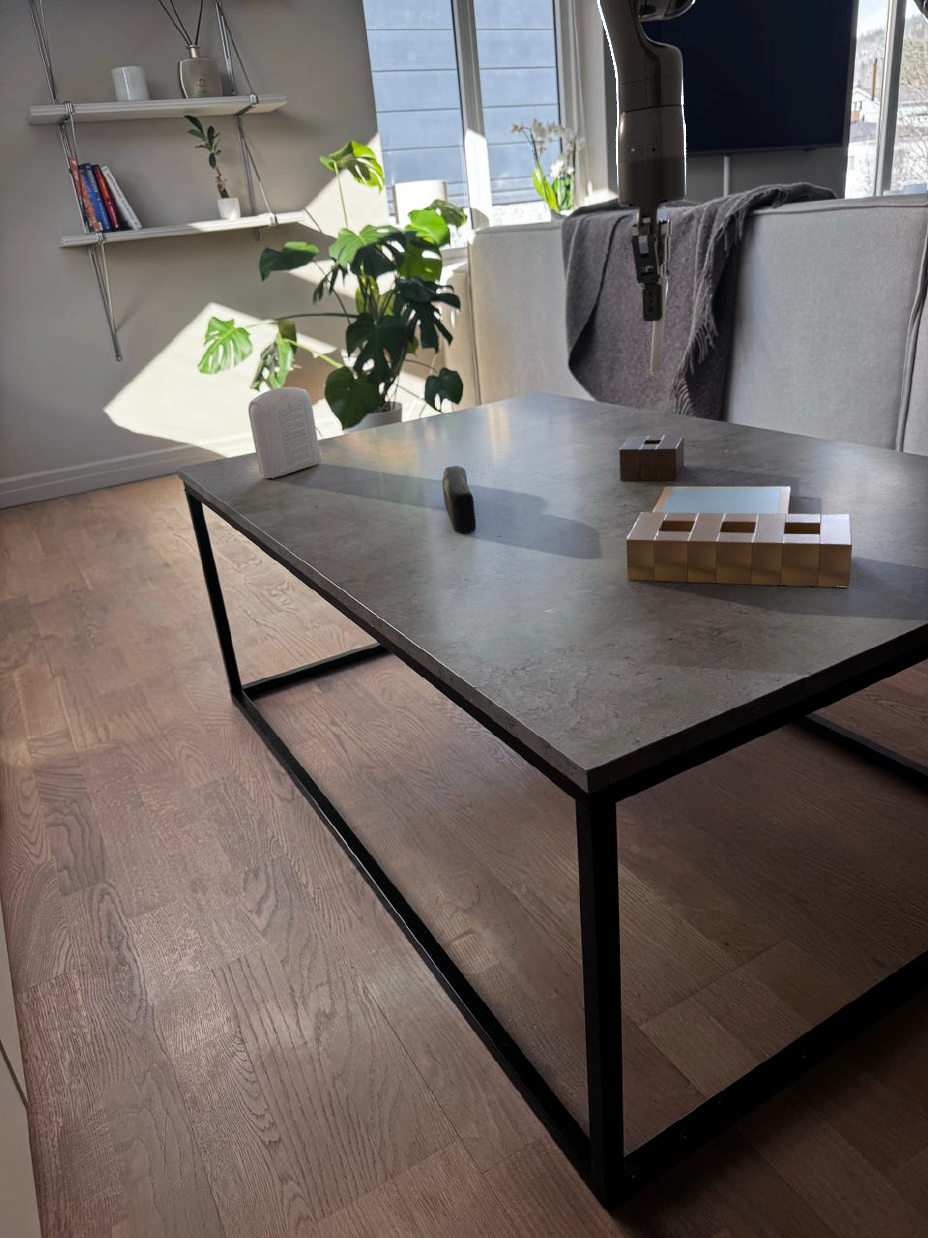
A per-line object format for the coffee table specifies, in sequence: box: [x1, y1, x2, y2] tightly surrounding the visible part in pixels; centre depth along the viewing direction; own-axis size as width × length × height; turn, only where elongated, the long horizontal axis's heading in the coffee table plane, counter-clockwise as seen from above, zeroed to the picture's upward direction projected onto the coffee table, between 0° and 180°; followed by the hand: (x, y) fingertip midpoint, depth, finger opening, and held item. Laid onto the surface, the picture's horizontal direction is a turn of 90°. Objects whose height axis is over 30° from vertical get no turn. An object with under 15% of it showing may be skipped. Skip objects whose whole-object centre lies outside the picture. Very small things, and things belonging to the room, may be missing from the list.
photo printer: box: [247, 386, 322, 479], centre depth 133 cm, size 10×4×12 cm, turn 140°
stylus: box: [649, 275, 668, 378], centre depth 106 cm, size 1×1×12 cm
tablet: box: [652, 486, 792, 514], centre depth 95 cm, size 14×18×1 cm
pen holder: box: [625, 511, 853, 588], centre depth 82 cm, size 19×8×4 cm, turn 70°
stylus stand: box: [618, 434, 685, 481], centre depth 113 cm, size 7×7×4 cm
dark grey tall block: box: [441, 465, 477, 533], centre depth 105 cm, size 5×3×15 cm
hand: (654, 318), depth 106 cm, fingers closed on stylus, 1 cm apart
